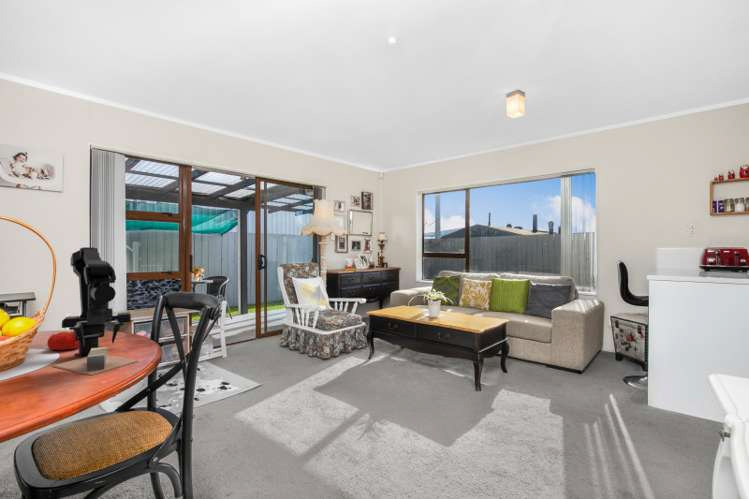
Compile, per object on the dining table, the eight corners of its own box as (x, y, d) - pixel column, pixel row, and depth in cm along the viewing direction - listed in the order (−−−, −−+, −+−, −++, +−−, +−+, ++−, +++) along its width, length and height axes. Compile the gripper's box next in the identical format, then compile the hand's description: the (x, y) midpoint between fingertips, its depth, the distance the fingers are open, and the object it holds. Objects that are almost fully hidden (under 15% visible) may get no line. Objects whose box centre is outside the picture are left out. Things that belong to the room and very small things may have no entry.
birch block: (91, 348, 128) (86, 357, 117) (107, 346, 130) (104, 355, 119) (91, 361, 128) (86, 371, 117) (107, 359, 130) (104, 369, 119)
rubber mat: (52, 366, 123) (52, 365, 123) (100, 354, 137) (100, 353, 137) (91, 375, 115) (91, 374, 115) (138, 361, 129) (138, 360, 129)
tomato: (54, 347, 147) (54, 331, 147) (87, 344, 150) (87, 329, 150) (42, 353, 137) (42, 336, 137) (77, 351, 141) (77, 334, 141)
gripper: (58, 304, 113) (58, 354, 114) (130, 300, 124) (130, 346, 124) (64, 300, 123) (64, 346, 123) (131, 296, 133) (130, 339, 133)
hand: (98, 344), depth 125 cm, fingers open, 8 cm apart
